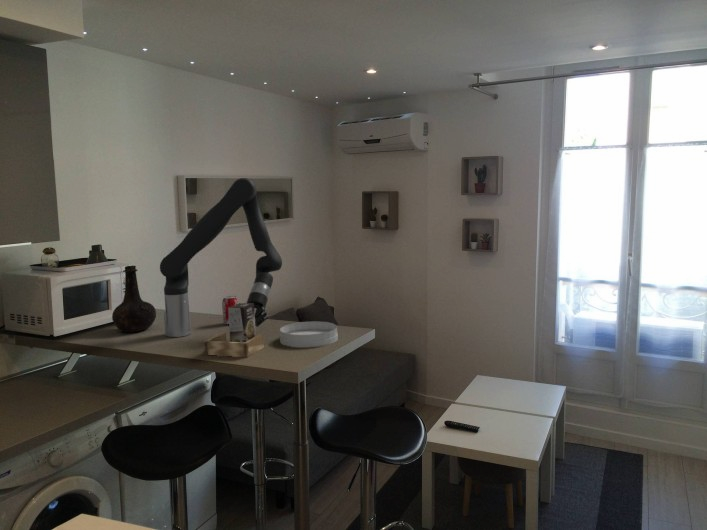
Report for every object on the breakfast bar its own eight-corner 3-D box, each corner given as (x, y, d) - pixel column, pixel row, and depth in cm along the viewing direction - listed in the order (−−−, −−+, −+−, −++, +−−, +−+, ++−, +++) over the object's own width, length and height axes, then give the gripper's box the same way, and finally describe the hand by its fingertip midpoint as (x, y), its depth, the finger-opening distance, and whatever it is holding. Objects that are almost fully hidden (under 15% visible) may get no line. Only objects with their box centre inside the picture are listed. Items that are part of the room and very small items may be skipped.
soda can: (235, 325, 242) (234, 298, 241) (220, 325, 244) (218, 298, 242) (242, 321, 249) (240, 295, 248) (227, 321, 251) (225, 295, 249)
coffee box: (246, 352, 199) (243, 307, 197) (230, 351, 200) (227, 307, 198) (257, 345, 207) (254, 302, 205) (241, 344, 209) (238, 302, 207)
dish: (328, 331, 227) (327, 319, 226) (346, 343, 206) (345, 330, 206) (274, 337, 220) (273, 325, 219) (287, 351, 199) (286, 337, 198)
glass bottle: (132, 336, 229) (126, 269, 225) (104, 332, 238) (98, 267, 234) (166, 327, 244) (161, 263, 241) (138, 324, 253) (133, 262, 250)
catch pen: (205, 355, 196) (204, 341, 196) (223, 345, 209) (223, 332, 208) (247, 357, 192) (246, 343, 191) (263, 347, 204) (263, 334, 204)
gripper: (239, 291, 218) (226, 329, 207) (271, 291, 214) (259, 330, 204) (246, 301, 223) (234, 339, 213) (277, 302, 220) (266, 340, 210)
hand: (246, 334), depth 208 cm, fingers closed
